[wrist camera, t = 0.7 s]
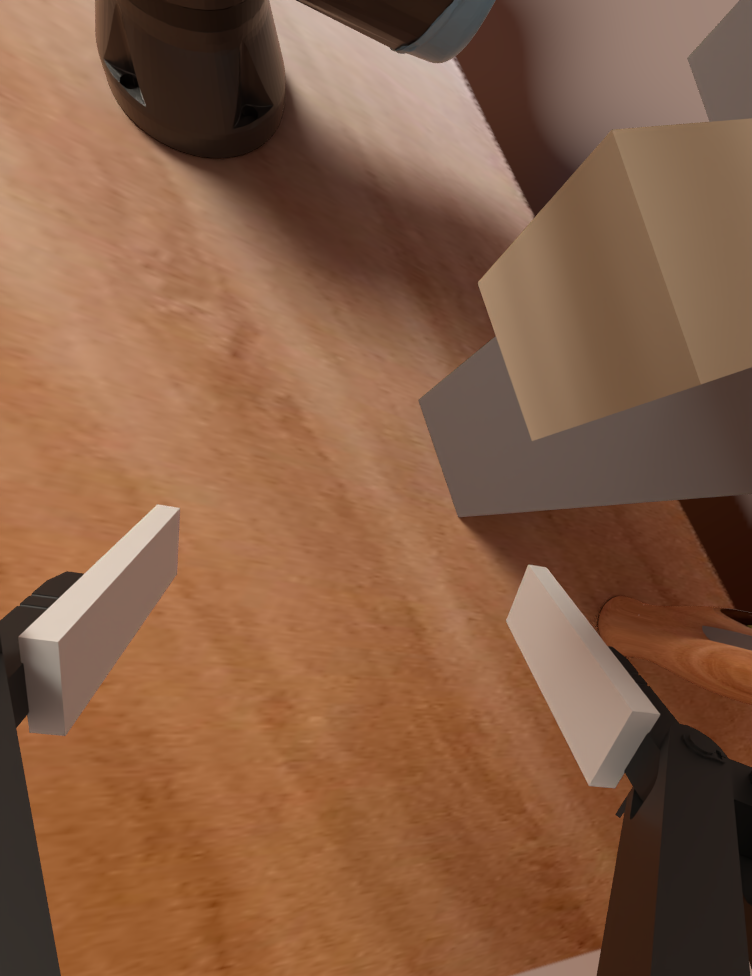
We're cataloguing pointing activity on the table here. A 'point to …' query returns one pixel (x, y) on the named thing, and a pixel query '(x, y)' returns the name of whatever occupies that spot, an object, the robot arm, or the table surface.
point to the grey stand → (620, 436)
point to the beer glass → (685, 642)
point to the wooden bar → (630, 276)
